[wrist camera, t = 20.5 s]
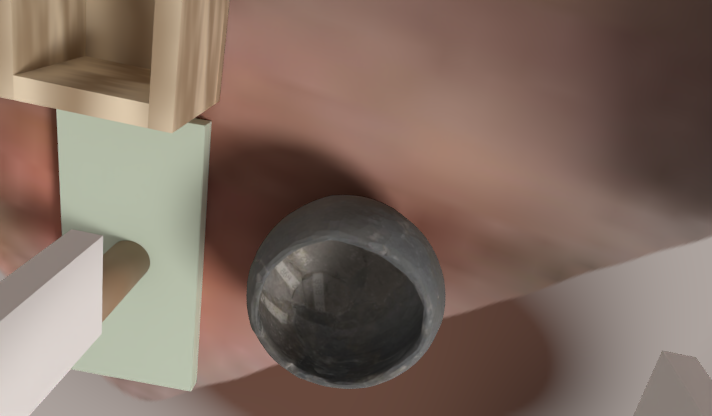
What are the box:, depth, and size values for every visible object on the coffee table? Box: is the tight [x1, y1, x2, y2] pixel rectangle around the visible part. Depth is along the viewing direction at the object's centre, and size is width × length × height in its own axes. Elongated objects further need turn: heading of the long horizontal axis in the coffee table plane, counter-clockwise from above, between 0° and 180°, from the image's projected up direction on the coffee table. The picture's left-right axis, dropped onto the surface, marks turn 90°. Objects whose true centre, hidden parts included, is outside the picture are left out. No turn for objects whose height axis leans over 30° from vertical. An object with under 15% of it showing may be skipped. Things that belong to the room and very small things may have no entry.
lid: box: [56, 109, 212, 391], centre depth 49 cm, size 12×26×11 cm, turn 172°
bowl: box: [247, 195, 445, 389], centre depth 47 cm, size 15×15×10 cm
